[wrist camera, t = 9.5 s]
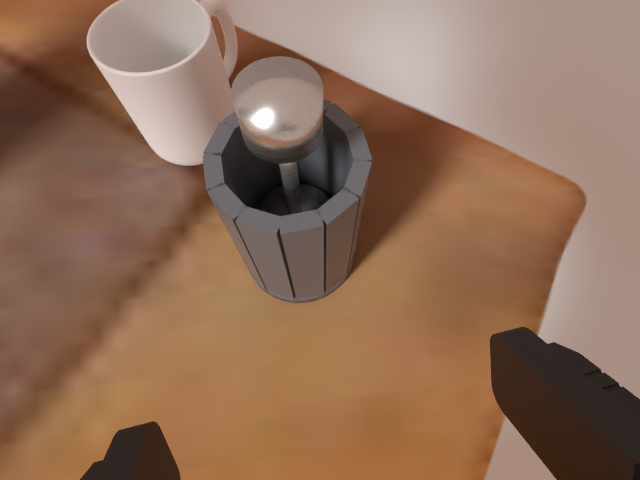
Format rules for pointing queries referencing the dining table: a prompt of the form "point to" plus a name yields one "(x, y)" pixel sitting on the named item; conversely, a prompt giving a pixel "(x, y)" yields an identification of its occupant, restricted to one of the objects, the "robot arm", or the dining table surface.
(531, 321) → the dining table surface
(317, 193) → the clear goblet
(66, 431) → the dining table surface
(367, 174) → the gray tankard
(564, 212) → the dining table surface
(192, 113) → the cup
